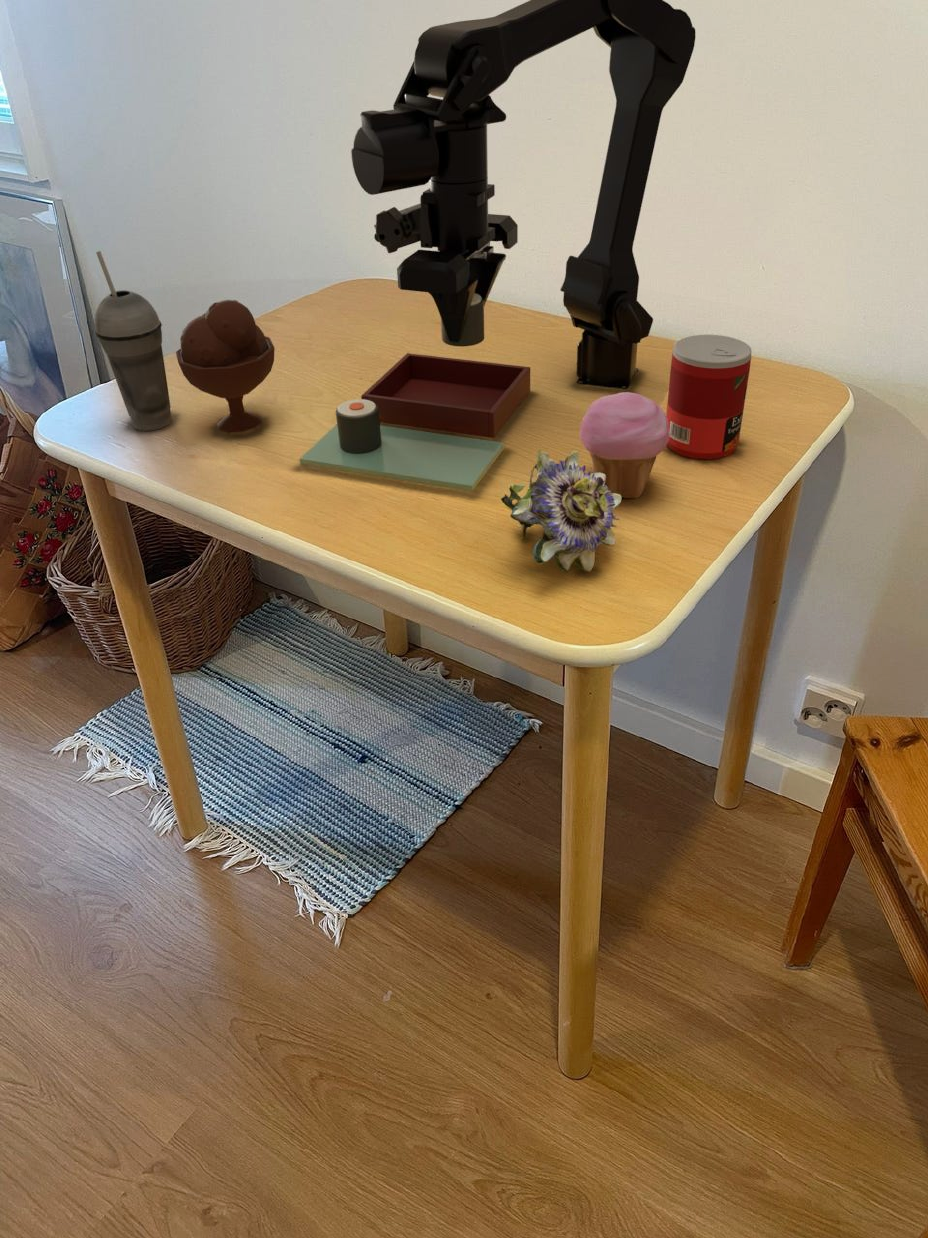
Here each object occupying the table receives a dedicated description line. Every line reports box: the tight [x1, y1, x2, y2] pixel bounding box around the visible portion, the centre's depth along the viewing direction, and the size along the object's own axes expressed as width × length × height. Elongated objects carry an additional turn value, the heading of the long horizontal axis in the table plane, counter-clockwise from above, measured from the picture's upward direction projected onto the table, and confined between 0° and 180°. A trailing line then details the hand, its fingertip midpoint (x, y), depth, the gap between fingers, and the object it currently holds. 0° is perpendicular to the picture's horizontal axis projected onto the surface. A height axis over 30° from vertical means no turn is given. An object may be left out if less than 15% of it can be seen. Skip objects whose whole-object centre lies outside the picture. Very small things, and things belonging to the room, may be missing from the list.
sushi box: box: [360, 352, 531, 439], centre depth 114 cm, size 16×13×4 cm
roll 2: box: [440, 293, 485, 348], centre depth 102 cm, size 5×5×5 cm
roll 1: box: [335, 398, 382, 454], centre depth 104 cm, size 5×5×5 cm
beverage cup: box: [94, 250, 173, 432], centre depth 109 cm, size 7×7×20 cm
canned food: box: [665, 334, 752, 460], centre depth 102 cm, size 8×8×11 cm
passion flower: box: [500, 449, 623, 573], centre depth 88 cm, size 11×11×12 cm
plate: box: [299, 423, 505, 492], centre depth 105 cm, size 20×10×1 cm, turn 69°
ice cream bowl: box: [175, 299, 276, 433], centre depth 109 cm, size 11×11×15 cm
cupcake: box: [579, 391, 670, 499], centre depth 95 cm, size 9×9×10 cm
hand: (463, 333), depth 103 cm, fingers closed on roll 2, 4 cm apart
